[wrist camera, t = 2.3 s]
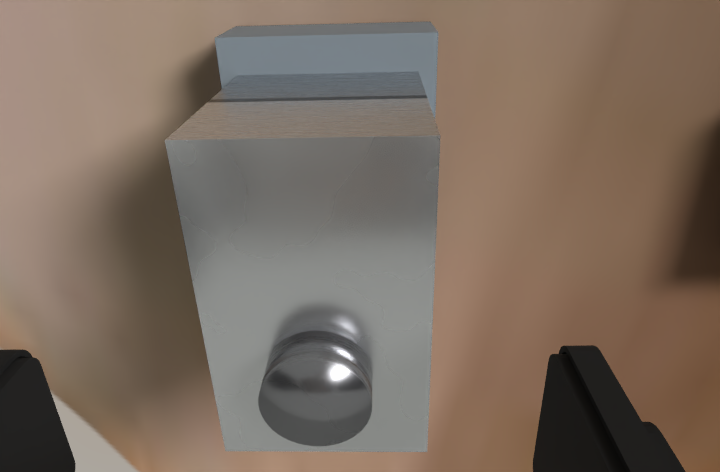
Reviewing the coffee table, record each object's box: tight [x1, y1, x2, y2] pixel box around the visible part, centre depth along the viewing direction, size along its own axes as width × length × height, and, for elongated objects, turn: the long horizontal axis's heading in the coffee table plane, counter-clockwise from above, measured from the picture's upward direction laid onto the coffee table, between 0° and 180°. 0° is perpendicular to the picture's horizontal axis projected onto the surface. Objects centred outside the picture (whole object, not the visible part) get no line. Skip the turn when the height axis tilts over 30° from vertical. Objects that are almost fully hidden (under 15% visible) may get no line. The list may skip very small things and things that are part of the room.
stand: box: [215, 22, 438, 118], centre depth 18 cm, size 10×6×2 cm, turn 1°
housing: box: [165, 71, 440, 452], centre depth 14 cm, size 8×5×7 cm, turn 1°
